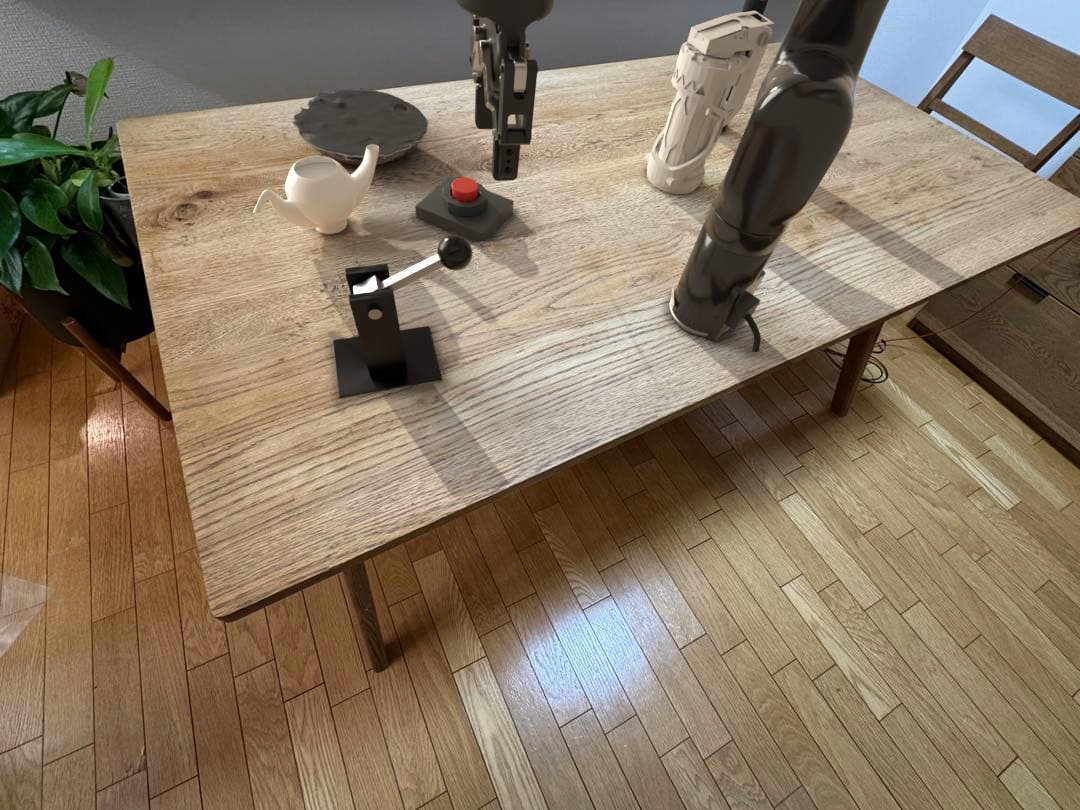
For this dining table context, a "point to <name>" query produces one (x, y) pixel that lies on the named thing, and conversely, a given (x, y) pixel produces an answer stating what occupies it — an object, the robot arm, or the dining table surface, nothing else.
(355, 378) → the bracket
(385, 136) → the board
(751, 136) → the robot arm
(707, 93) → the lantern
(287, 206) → the teapot
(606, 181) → the dining table surface
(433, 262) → the lever
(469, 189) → the button
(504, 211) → the control block
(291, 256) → the dining table surface
